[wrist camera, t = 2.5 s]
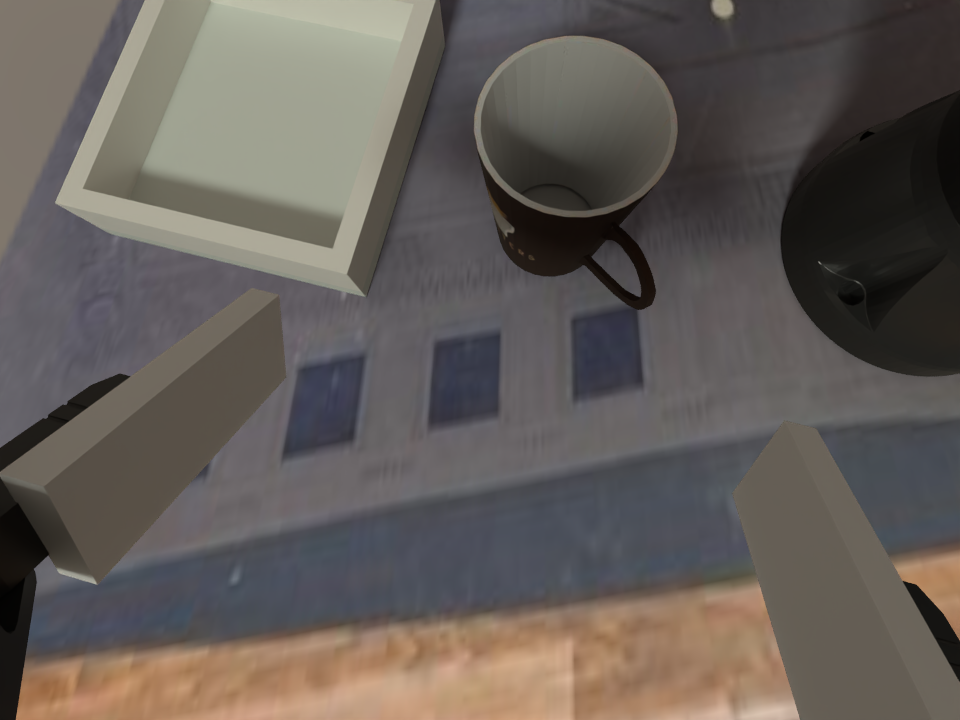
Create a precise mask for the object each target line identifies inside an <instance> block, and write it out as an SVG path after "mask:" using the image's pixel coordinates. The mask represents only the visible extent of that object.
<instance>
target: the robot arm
mask: <svg viewBox="0 0 960 720" xmlns="http://www.w3.org/2000/svg"><path fill="white" fill-rule="evenodd" d="M782 254H783V261H784V266H785V270H786V274H787V277H788V280H789V282H790V285H791V287H792V290H793V292H794V294H795V296H796V298H797V299H798V301H799V303H800V305H801V306H802V308H803V309H804V311H805V312H806V313H807V315H808V316H809V317H810V319H811V320H812V321H813V322H814V323H815V325H816V326H817V327H818V328H819V329H820V330H821V331H822V332H823V333H824V334H825V335H826V336H827V337H829V338H830V339H831V340H832V341H833V342H835V343H836V344H837V345H838V346H840V347H841V348H843V349H844V350H846V351H847V352H849V353H850V354H852V355H854V356H855V357H857V358H859V359H861V360H863V361H865V362H867V363H869V364H872V365H874V366H877V367H880V368H882V369H885V370H889V371H892V372H896V373H901V374H906V375H913V376H947V375H953V374H959V373H960V91H957V92H955V93H952V94H950V95H948V96H945V97H943V98H940V99H938V100H936V101H933V102H931V103H929V104H926V105H924V106H922V107H920V108H918V109H916V110H914V111H912V112H910V113H908V114H906V115H904V116H903V117H901V118H898V119H894V120H890V121H887V122H884V123H882V124H879V125H876V126H874V127H872V128H869V129H867V130H865V131H863V132H861V133H859V134H857V135H856V136H854V137H852V138H851V139H849V140H848V141H846V142H845V143H843V144H842V145H840V146H839V147H838V148H837V149H836V150H834V151H833V152H832V153H831V154H830V155H829V156H827V157H826V158H825V159H824V160H823V161H822V162H821V163H819V164H818V165H817V166H816V167H815V168H814V169H813V170H812V171H811V172H810V173H809V174H808V175H807V176H806V177H805V178H804V179H803V180H802V182H801V183H800V185H799V186H798V187H797V189H796V191H795V192H794V194H793V196H792V198H791V200H790V202H789V205H788V207H787V210H786V214H785V217H784V222H783V229H782ZM285 378H286V368H285V356H284V345H283V334H282V322H281V311H280V300H279V295H277V294H273V293H269V292H265V291H261V290H257V289H253V288H251V289H250V290H249V291H247V292H246V293H244V294H243V295H242V296H240V297H239V298H238V299H236V300H235V301H233V302H232V303H231V304H229V305H228V306H227V307H225V308H224V309H223V310H221V311H220V312H218V313H217V314H216V315H214V316H213V317H212V318H210V319H209V320H207V321H206V322H205V323H203V324H202V325H201V326H199V327H198V328H196V329H195V330H194V331H192V332H191V333H190V334H188V335H187V336H186V337H184V338H183V339H181V340H180V341H179V342H177V343H176V344H175V345H173V346H172V347H170V348H169V349H168V350H166V351H165V352H164V353H162V354H161V355H160V356H158V357H157V358H155V359H154V360H153V361H151V362H150V363H149V364H147V365H146V366H144V367H143V368H142V369H140V370H139V371H138V372H136V373H135V374H133V375H132V376H127V375H123V374H118V375H115V376H113V377H110V378H108V379H105V380H103V381H100V382H98V383H95V384H93V385H91V386H89V387H88V388H86V389H85V390H83V391H82V392H80V393H79V394H78V395H76V396H75V397H73V398H72V399H70V400H69V401H68V403H67V405H62V406H60V407H59V408H57V409H56V410H54V411H53V412H51V413H50V414H49V415H48V418H47V419H44V418H43V419H41V420H40V421H38V422H37V423H36V424H34V425H33V426H31V427H30V428H28V429H27V430H25V431H24V432H22V433H21V434H20V435H18V436H17V437H15V438H14V439H12V440H11V441H9V442H8V443H7V444H5V445H4V446H2V447H1V448H0V720H16V714H17V707H18V701H19V694H20V688H21V681H22V675H23V668H24V662H25V655H26V649H27V642H28V636H29V629H30V623H31V616H32V610H33V603H34V596H35V590H36V583H37V581H36V574H35V571H34V568H35V567H36V566H37V565H38V564H39V563H40V562H42V561H43V560H44V559H45V558H46V557H47V556H48V555H49V557H50V559H51V560H52V562H53V563H54V565H55V567H56V568H57V570H58V572H59V573H60V574H64V575H67V576H70V577H73V578H77V579H80V580H83V581H87V582H90V583H93V584H97V585H98V584H99V583H100V581H101V580H102V579H103V578H104V577H105V576H106V575H107V574H108V573H109V572H110V570H111V569H112V568H113V567H114V566H115V565H116V564H117V563H118V562H119V561H120V559H121V558H122V557H123V556H124V555H125V554H126V553H127V552H128V551H129V550H130V548H131V547H132V546H133V545H134V544H135V543H136V542H137V541H138V540H139V539H140V537H141V536H142V535H143V534H144V533H145V532H146V531H147V530H148V529H149V528H150V526H151V525H152V524H153V523H154V522H155V521H156V520H157V519H158V518H159V517H160V515H161V514H162V513H163V512H164V511H165V510H166V509H167V508H168V507H169V506H170V504H171V503H172V502H173V501H174V500H175V499H176V498H177V497H178V496H179V495H180V493H181V492H182V491H183V490H184V489H185V488H186V487H187V486H188V485H189V484H190V482H191V481H192V480H193V479H194V478H195V477H196V476H197V475H198V474H199V473H200V471H201V470H202V469H203V468H204V467H205V466H206V465H207V464H208V463H209V462H210V460H211V459H212V458H213V457H214V456H215V455H216V454H217V453H218V452H219V451H220V449H221V448H222V447H223V446H224V445H225V444H226V443H227V442H228V441H229V440H230V438H231V437H232V436H233V435H234V434H235V433H236V432H237V431H238V430H239V429H240V427H241V426H242V425H243V424H244V423H245V422H246V421H247V420H248V419H249V418H250V416H251V415H252V414H253V413H254V412H255V411H256V410H257V409H258V408H259V407H260V406H261V404H262V403H263V402H264V401H265V400H266V399H267V398H268V397H269V396H270V395H271V393H272V392H273V391H274V390H275V389H276V388H277V387H278V386H279V385H280V384H281V382H282V381H283V380H284V379H285ZM732 494H733V498H734V501H735V504H736V508H737V511H738V514H739V518H740V521H741V524H742V528H743V531H744V534H745V538H746V541H747V544H748V548H749V551H750V554H751V557H752V561H753V564H754V567H755V571H756V574H757V577H758V581H759V584H760V587H761V591H762V594H763V597H764V601H765V604H766V607H767V611H768V614H769V617H770V621H771V624H772V627H773V631H774V634H775V637H776V641H777V644H778V647H779V651H780V654H781V657H782V660H783V664H784V667H785V670H786V674H787V677H788V680H789V684H790V687H791V690H792V694H793V697H794V700H795V704H796V707H797V710H798V714H799V717H800V720H960V641H959V639H958V637H957V636H956V634H955V632H954V631H953V629H952V627H951V626H950V624H949V622H948V621H947V619H946V617H945V616H944V614H943V613H942V612H941V611H940V610H939V609H938V607H937V606H936V605H935V604H934V603H933V602H932V601H931V600H930V599H929V598H928V597H927V596H926V595H925V593H924V592H923V591H922V590H921V589H920V588H919V587H918V586H917V585H916V584H912V583H908V582H904V581H902V579H901V578H900V576H899V574H898V572H897V571H896V569H895V567H894V565H893V564H892V562H891V560H890V558H889V556H888V555H887V553H886V551H885V549H884V548H883V546H882V544H881V542H880V541H879V539H878V537H877V535H876V534H875V532H874V530H873V528H872V526H871V525H870V523H869V521H868V519H867V518H866V516H865V514H864V512H863V511H862V509H861V507H860V505H859V503H858V502H857V500H856V498H855V496H854V495H853V493H852V491H851V489H850V488H849V486H848V484H847V482H846V480H845V479H844V477H843V475H842V473H841V472H840V470H839V468H838V466H837V465H836V463H835V461H834V459H833V457H832V456H831V454H830V452H829V450H828V449H827V447H826V445H825V443H824V442H823V440H822V438H821V436H820V434H819V433H818V431H817V429H816V428H812V427H808V426H804V425H800V424H796V423H792V422H788V421H784V422H783V423H782V424H781V426H780V427H779V429H778V430H777V431H776V433H775V434H774V436H773V437H772V438H771V440H770V441H769V443H768V444H767V445H766V447H765V448H764V450H763V451H762V452H761V454H760V455H759V457H758V458H757V459H756V461H755V462H754V464H753V465H752V466H751V468H750V469H749V471H748V472H747V473H746V475H745V476H744V478H743V479H742V480H741V482H740V483H739V485H738V486H737V487H736V489H735V490H734V492H733V493H732Z"/></svg>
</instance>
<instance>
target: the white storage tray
mask: <svg viewBox="0 0 960 720" xmlns="http://www.w3.org/2000/svg"><path fill="white" fill-rule="evenodd" d="M444 48H445V40H444V32H443V24H442V16H441V8H440V0H145V2H144V4H143V6H142V8H141V11H140V13H139V15H138V17H137V20H136V22H135V24H134V26H133V29H132V31H131V33H130V35H129V38H128V40H127V42H126V44H125V47H124V49H123V51H122V53H121V56H120V58H119V60H118V62H117V65H116V67H115V69H114V71H113V74H112V76H111V78H110V80H109V83H108V85H107V87H106V89H105V92H104V94H103V96H102V98H101V101H100V103H99V105H98V107H97V110H96V112H95V114H94V116H93V119H92V121H91V123H90V125H89V128H88V130H87V132H86V134H85V137H84V139H83V141H82V143H81V146H80V148H79V150H78V152H77V155H76V157H75V159H74V161H73V164H72V166H71V168H70V170H69V173H68V175H67V177H66V179H65V182H64V184H63V186H62V189H61V191H60V193H59V195H58V198H57V200H56V202H55V203H56V204H58V205H59V206H61V207H63V208H65V209H67V210H68V211H70V212H72V213H74V214H76V215H77V216H79V217H81V218H83V219H84V220H86V221H88V222H90V223H92V224H93V225H95V226H97V227H99V228H101V229H102V230H104V231H106V232H108V233H110V234H113V235H117V236H121V237H125V238H129V239H133V240H137V241H141V242H145V243H149V244H153V245H157V246H161V247H165V248H169V249H173V250H177V251H181V252H185V253H190V254H194V255H198V256H202V257H206V258H210V259H214V260H218V261H222V262H226V263H230V264H234V265H238V266H242V267H246V268H250V269H254V270H258V271H262V272H266V273H270V274H275V275H279V276H283V277H287V278H291V279H295V280H299V281H303V282H307V283H311V284H315V285H319V286H323V287H327V288H331V289H335V290H339V291H343V292H347V293H351V294H355V295H360V296H364V297H367V293H368V290H369V287H370V284H371V281H372V278H373V274H374V271H375V268H376V265H377V262H378V258H379V255H380V252H381V249H382V246H383V242H384V239H385V236H386V233H387V230H388V227H389V223H390V220H391V217H392V214H393V211H394V207H395V204H396V201H397V198H398V195H399V192H400V188H401V185H402V182H403V179H404V176H405V172H406V169H407V166H408V163H409V160H410V157H411V153H412V150H413V147H414V144H415V141H416V137H417V134H418V131H419V128H420V125H421V121H422V118H423V115H424V112H425V109H426V106H427V102H428V99H429V96H430V93H431V90H432V86H433V83H434V80H435V77H436V74H437V71H438V67H439V64H440V61H441V58H442V55H443V51H444Z"/></svg>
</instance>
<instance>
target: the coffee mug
mask: <svg viewBox="0 0 960 720" xmlns="http://www.w3.org/2000/svg"><path fill="white" fill-rule="evenodd" d="M474 135H475V140H476V145H477V150H478V154H479V158H480V162H481V166H482V170H483V174H484V178H485V182H486V186H487V190H488V194H489V198H490V202H491V206H492V210H493V214H494V218H495V222H496V226H497V230H498V234H499V238H500V242H501V244H502V247H503V249H504V251H505V253H506V254H507V255H508V257H509V258H510V259H511V260H512V261H513V262H514V263H515V264H516V265H517V266H519V267H520V268H522V269H523V270H525V271H527V272H530V273H532V274H535V275H540V276H559V275H564V274H567V273H570V272H572V271H574V270H576V269H578V268H579V267H581V266H582V265H585V266H586V267H587V268H588V269H589V270H590V271H591V272H592V273H593V274H594V275H595V276H596V277H597V278H598V279H599V280H600V281H601V282H602V283H603V284H604V285H605V286H606V287H607V288H608V289H609V290H610V291H611V292H612V293H613V294H614V295H615V296H617V297H618V298H619V299H621V300H622V301H623V302H625V303H626V304H627V305H629V306H631V307H633V308H635V309H637V310H642V309H644V308H646V307H648V306H650V305H652V303H653V301H654V298H655V294H656V289H655V284H654V279H653V276H652V273H651V270H650V268H649V265H648V263H647V261H646V258H645V256H644V254H643V252H642V250H641V249H640V247H639V246H638V244H637V243H636V242H635V241H634V240H633V239H632V238H631V237H630V236H629V235H628V234H627V233H626V232H625V231H624V230H623V229H622V228H620V227H619V225H620V224H621V223H622V222H623V220H624V219H625V218H626V217H627V216H628V215H629V214H630V213H631V212H632V210H633V209H634V208H635V207H636V206H637V205H638V204H639V203H640V201H641V200H642V199H643V198H644V197H645V196H646V195H647V194H648V192H649V191H650V190H651V189H652V188H653V187H654V186H655V185H656V183H657V182H658V181H659V179H660V178H661V176H662V175H663V174H664V172H665V171H666V169H667V168H668V166H669V163H670V161H671V158H672V156H673V154H674V151H675V147H676V141H677V135H678V125H677V113H676V109H675V106H674V102H673V98H672V96H671V94H670V92H669V90H668V88H667V86H666V84H665V83H664V81H663V80H662V78H661V77H660V76H659V75H658V73H657V72H656V71H655V70H654V68H653V67H652V66H651V65H649V64H648V63H647V62H646V61H645V60H643V59H642V58H641V57H640V56H639V55H637V54H636V53H634V52H632V51H630V50H628V49H627V48H625V47H623V46H621V45H619V44H616V43H613V42H610V41H607V40H604V39H600V38H594V37H588V36H561V37H555V38H549V39H545V40H542V41H539V42H536V43H534V44H531V45H528V46H526V47H524V48H523V49H521V50H519V51H518V52H516V53H514V54H512V55H511V56H510V57H509V58H507V59H506V60H505V61H504V62H503V63H502V64H500V65H499V66H498V67H497V68H496V70H495V71H494V72H493V74H492V75H491V76H490V77H489V79H488V80H487V81H486V83H485V85H484V87H483V89H482V91H481V93H480V95H479V98H478V102H477V106H476V110H475V114H474ZM606 240H613V241H615V242H617V243H618V244H619V245H620V246H621V247H622V248H623V249H624V251H625V252H626V253H627V255H628V256H629V257H630V259H631V261H632V262H633V264H634V266H635V268H636V271H637V274H638V277H639V280H640V284H641V297H638V296H636V295H634V294H632V293H630V292H628V291H626V290H625V289H624V288H622V287H621V286H620V285H619V284H618V283H617V282H616V281H615V280H614V279H613V278H612V277H611V276H610V275H609V274H608V273H607V272H606V271H605V270H604V269H603V268H602V267H601V266H600V265H599V264H597V263H596V262H595V261H594V260H593V259H592V257H591V256H592V255H593V254H594V253H595V252H596V251H597V250H598V249H599V247H600V246H601V245H602V244H603V243H604V242H605V241H606Z"/></svg>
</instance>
